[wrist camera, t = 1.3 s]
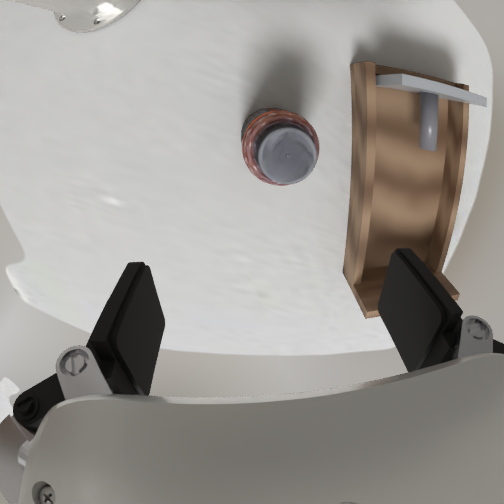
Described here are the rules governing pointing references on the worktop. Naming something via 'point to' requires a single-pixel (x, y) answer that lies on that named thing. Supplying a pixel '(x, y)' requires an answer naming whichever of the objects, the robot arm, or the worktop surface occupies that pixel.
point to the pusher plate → (429, 101)
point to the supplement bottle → (279, 146)
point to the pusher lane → (400, 182)
